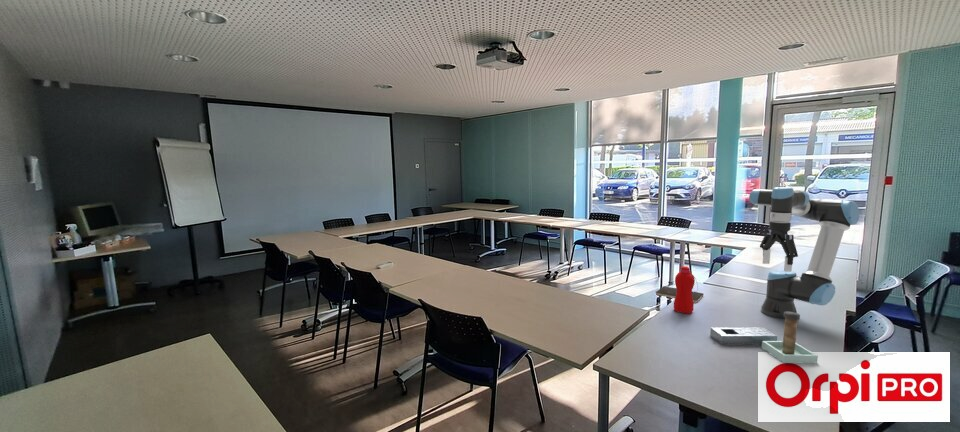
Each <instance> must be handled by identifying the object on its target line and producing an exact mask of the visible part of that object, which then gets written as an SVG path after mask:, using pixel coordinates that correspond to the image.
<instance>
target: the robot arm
mask: <svg viewBox="0 0 960 432" xmlns="http://www.w3.org/2000/svg"><path fill="white" fill-rule="evenodd" d="M748 197H749V198H748V200H749V203H751V204H753V205H757V206H759V205H760V206H765V207H770V215H769V216H770V217H769V220H770V222H769V224H768V225H769V227H768V229H766V230H765V234H764V236H763V238H762V241H761V242H760V244H759V247H760V248H761V249H762V264H763V265H769V264H770V261H771V248H772V247H773V246H774V244H775V243H776V242H777V243H779V245H781V247H782V250H783V251H784V253H785V256H784V265H783V270H771V271H769V272H768V273H767V279H766V281H767V282H766V283H767V284H766V293H765V296H766V297H765V299H764V301H763V303H762V305H761V306H760V307H761V308H760V312H762V313H763V314H764V315H767V316H769V317H772V318H778V319H783V320H785V317H784V312H786V311H788V312H795V313H798V312H797V307H796V305H795V300H796V301H797V300H798V301H801V302H805V303H808V304H811V305H818V306H823V307H824V306H826V305H828V304H829V303H831V301H832V300H833V298H834V296H835V295H836V286H835V285H834V284H833V280H832V278H831V277H830V276H831V273H832V270H833V267H834V263H835V261H836V258H837V254H838V251H839V248H840V245H841V242H842V240H843V235H844V233H845V231H848V230H849V229H850V227H851V225H852V226H854V225H856V224H857V223H858V222H859V220H860V219H859V218H860V209H859V206H858V204H857V203H856V202H855V201H854V200H847V199H829V198H810V195H809V193H808V192H807V191H804V190H797V189H796V190H794V188H793V187H787V186H786V187H785V186H784V187H782V186H781V187H780V186H779V187H777V186H776V187H773V188H772V189H762V188H759V189H753V190H751V191H750V194H749V196H748ZM792 215H793V216H796V217H800V218H803V219H806V220H811V221H815V222H818V225H820V230H819V234H818V237H817V239H816V242H815V245H814V249H813V252H812V255H811V258H810V261H809V264H808V267H807V269H806V271H803V272H802V273H801V275H800V276H797V275H798V274H797V272H796V271H795V272H794V271H792V269H793V264H794V258H797V257H799V255H798V251H797V247H796V243H795V240H794V238H795V237H794V234H788V233H789V231H791V221H792Z"/></svg>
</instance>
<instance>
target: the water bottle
mask: <svg viewBox="0 0 960 432" xmlns="http://www.w3.org/2000/svg"><path fill="white" fill-rule="evenodd" d="M679 269H680V271H679V272H678V273H677V274H676V275H675V277H674V284H675V288H676V289H677V294H676V297H675V298H674V301H673V309H674V311H675V312H676V313H683V314H688V315H689V314H691V313H693V311H694V302H693V298H692V291H693V290H694V287H695V283H698V282H697V280H696V277H695V275H694V274H693V273H692V271H691V268H690V267H689V266H685V265H684V266H680V268H679ZM696 286H697V288H696V289H697V290H695V292H698V289H699V286H698V284H696Z"/></svg>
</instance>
